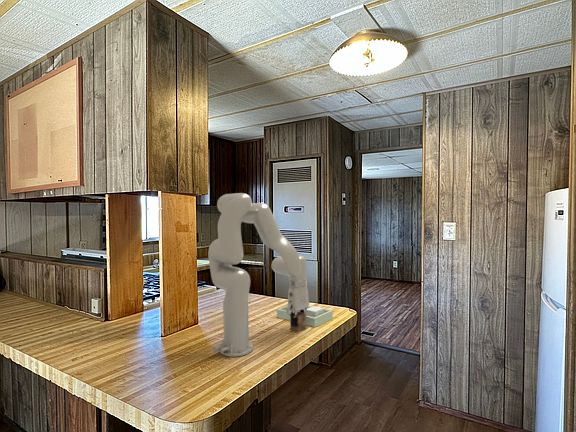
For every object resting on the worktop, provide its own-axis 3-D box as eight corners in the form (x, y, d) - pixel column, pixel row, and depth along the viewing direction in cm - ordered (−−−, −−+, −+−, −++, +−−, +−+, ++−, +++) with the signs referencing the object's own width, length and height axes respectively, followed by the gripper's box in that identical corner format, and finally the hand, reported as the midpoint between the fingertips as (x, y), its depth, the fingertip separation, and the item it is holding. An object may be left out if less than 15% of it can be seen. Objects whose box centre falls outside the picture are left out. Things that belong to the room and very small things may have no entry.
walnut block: (299, 332, 145) (299, 316, 145) (290, 329, 148) (290, 313, 148) (306, 328, 149) (305, 313, 149) (297, 326, 152) (297, 311, 152)
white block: (315, 324, 155) (315, 311, 155) (305, 321, 159) (305, 309, 159) (324, 320, 160) (324, 308, 160) (313, 318, 164) (313, 306, 164)
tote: (314, 327, 151) (314, 318, 151) (277, 317, 166) (276, 309, 166) (332, 318, 162) (332, 310, 162) (295, 310, 177) (295, 302, 177)
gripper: (292, 288, 139) (292, 331, 140) (315, 281, 153) (316, 320, 153) (278, 285, 144) (279, 327, 145) (302, 279, 157) (303, 317, 158)
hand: (298, 323), depth 149 cm, fingers closed on walnut block, 4 cm apart
